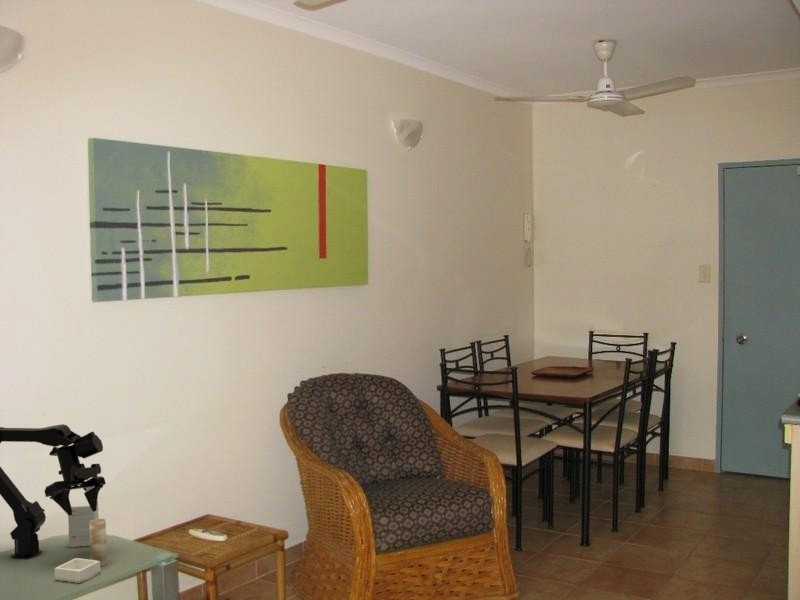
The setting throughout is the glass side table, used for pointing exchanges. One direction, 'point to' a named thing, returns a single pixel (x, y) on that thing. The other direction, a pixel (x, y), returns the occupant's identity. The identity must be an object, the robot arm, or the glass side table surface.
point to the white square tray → (77, 570)
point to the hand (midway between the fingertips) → (82, 513)
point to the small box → (80, 523)
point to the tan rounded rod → (98, 541)
